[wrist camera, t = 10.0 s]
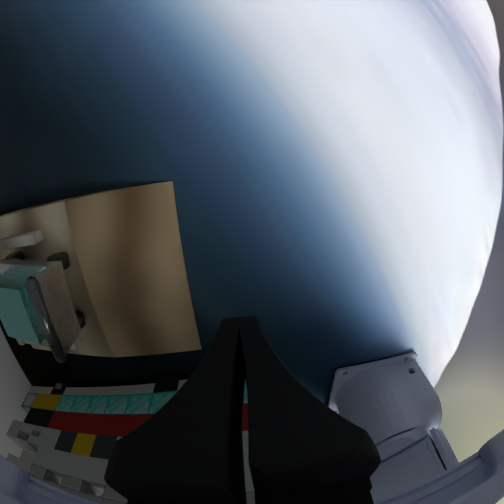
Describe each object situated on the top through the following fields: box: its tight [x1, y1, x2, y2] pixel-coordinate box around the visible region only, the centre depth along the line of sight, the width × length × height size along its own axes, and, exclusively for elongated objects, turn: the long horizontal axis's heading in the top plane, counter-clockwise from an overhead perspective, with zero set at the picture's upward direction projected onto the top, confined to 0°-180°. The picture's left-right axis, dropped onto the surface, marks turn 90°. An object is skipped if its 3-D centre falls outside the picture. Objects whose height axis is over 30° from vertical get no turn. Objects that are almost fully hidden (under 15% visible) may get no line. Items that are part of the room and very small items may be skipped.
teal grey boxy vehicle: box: [0, 251, 86, 363], centre depth 16 cm, size 7×7×5 cm
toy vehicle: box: [6, 371, 255, 504], centre depth 19 cm, size 8×30×15 cm, turn 105°
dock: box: [0, 181, 202, 357], centre depth 19 cm, size 19×14×4 cm
